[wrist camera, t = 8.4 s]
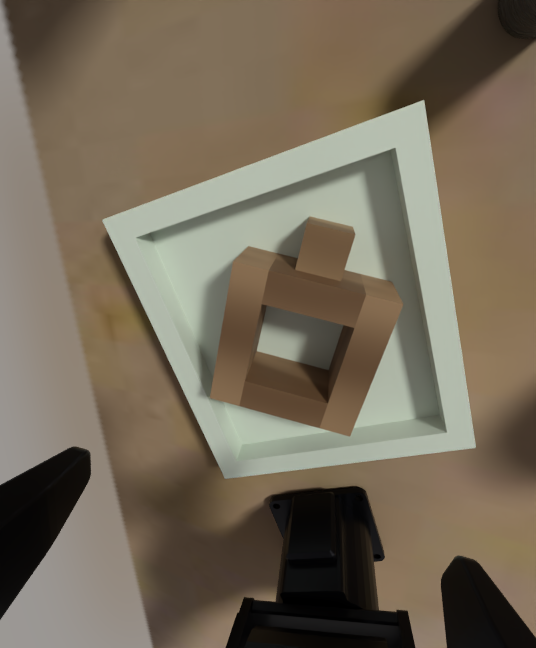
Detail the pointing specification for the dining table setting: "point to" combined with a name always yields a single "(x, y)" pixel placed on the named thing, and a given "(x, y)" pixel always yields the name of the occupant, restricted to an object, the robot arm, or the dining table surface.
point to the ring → (315, 301)
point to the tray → (300, 330)
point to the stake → (518, 17)
